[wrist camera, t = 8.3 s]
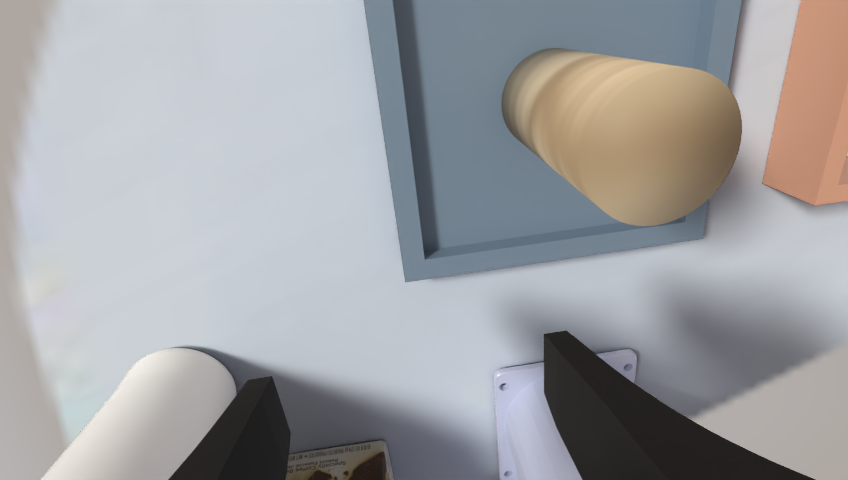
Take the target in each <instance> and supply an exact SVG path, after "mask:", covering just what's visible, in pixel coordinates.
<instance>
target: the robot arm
mask: <svg viewBox="0 0 848 480" xmlns="http://www.w3.org/2000/svg"><path fill="white" fill-rule="evenodd" d="M626 364H628V365H627V366H625V365H626ZM636 364H637V356H636V354H635V353H634V352H633V351H632V350H630V349H625V350H618V351H612V352H605V353H599V354H595V353H594V352H592V351H591V350H590V349H589V348H587V347H586V346H585V345H584V344H583V343H581V342H580V341H579V340H578V339H576V338H575V337H574V336H573V335H571V334H570V333H569V332H567V331H561V332H555V333H548V334H544V362H541V363H535V364H528V365H522V366H515V367H509V368H502V369H499V370H497V371H496V372H495V373H494V376H493V381H494V398H495V415H496V432H497V448H498V465H499V480H815V479H813V478H810V477H808V476H805V475H803V474H800V473H798V472H795V471H793V470H791V469H789V468H786V467H784V466H781V465H779V464H777V463H775V462H772V461H770V460H768V459H766V458H764V457H761V456H759V455H757V454H755V453H753V452H751V451H748V450H747V449H745V448H743V447H740V446H738V445H736V444H734V443H732V442H730V441H728V440H726V439H724V438H722V437H720V436H719V435H717V434H715V433H713V432H711V431H709V430H707V429H706V428H704V427H702V426H700V425H698V424H697V423H695V422H693V421H692V420H690V419H688V418H686V417H685V416H683V415H681V414H680V413H678V412H676V411H675V410H673V409H671V408H670V407H668V406H667V405H665V404H663V403H662V402H660V401H659V400H657V399H656V398H654V397H653V396H651V395H650V394H648V393H647V392H645V391H644V390H642V389H641V388H640V387H638V386H637V385H635V384H634V382H635V373H636ZM503 383H506V384H505V385H503V386H500V385H501V384H503ZM290 434H291V433H290V430H289V427H288V424H287V421H286V418H285V415H284V411H283V408H282V405H281V402H280V399H279V396H278V393H277V390H276V387H275V384H274V381H273V378H272V376H271V377H264V378H258V379H251V380H248V381H247V383H246V384H245V385H244V386H243V388H242V389H241V390H240V391H239V393H238V394H237V395H236V396H235V398H234V399H233V400H232V402H231V403H230V404H229V406H228V407H227V408H226V410H225V411H224V412H223V414H222V415H221V416H220V417H219V419H218V420H217V421H216V423H215V424H214V425H213V426H212V428H211V429H210V430H209V431H208V433H207V434H206V435H205V436H204V438H203V439H202V440H201V442H200V443H199V444H198V445H197V447H196V448H195V449H194V450H193V451H192V453H191V454H190V455H189V456H188V457H187V458H186V460H185V461H184V462H183V463H182V464H181V465H180V467H179V468H178V469H177V470H176V471H175V472H174V473H173V475H172V476H171V477H170V478H169V479H168V480H286V475H287V467H288V458H289V446H290Z"/></svg>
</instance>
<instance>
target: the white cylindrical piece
mask: <svg viewBox="0 0 848 480" xmlns="http://www.w3.org/2000/svg"><path fill="white" fill-rule="evenodd" d="M236 395H237V392H236V385H235V382H234V379H233V377H232V375H231V374H230V372H229V371H228V370H227V368H226V367H225V366H224V365H223V364H222V363H220V362H219V361H218V360H216V359H215V358H213V357H212V356H210V355H208V354H205V353H203V352H200V351H197V350H193V349H187V348H168V349H163V350H159V351H155V352H153V353H150V354H148V355H146V356H144V357H143V358H141V359H140V360H139V361H137V362H136V363H135V364H134V365H133V366H132V367H131V368H130V370H129V371H128V372H127V374H126V375H125V377H124V378H123V379H122V381H121V382H120V384H119V385H118V387H117V388H116V390H115V391H114V392H113V394H112V395H111V396H110V397H109V398H108V400H107V401H106V402H105V403H104V404H103V406H102V407H101V408H100V409H99V410H98V412H97V413H96V414H95V415H94V416H93V418H92V419H91V420H90V421H89V422H88V424H87V425H86V426H85V427H84V428H83V429H82V431H81V432H80V433H79V434H78V435H77V437H76V438H75V439H74V440H73V441H72V443H71V444H70V445H69V446H68V447H67V448H66V450H65V451H64V452H63V453H62V454H61V456H60V457H59V458H58V459H57V460H56V461H55V463H54V464H53V465H52V466H51V468H49V470H48V471H47V472H46V473H45V474H44V476H43V477H42V478H41V479H40V480H168V479H169V478H170V477H171V476H172V475H173V473H174V472H175V471H176V470H177V469H178V468H179V467H180V465H181V464H182V463H183V462H184V461H185V460H186V458H187V457H188V456H189V455H190V454H191V453H192V451H193V450H194V449H195V448H196V447H197V445H198V444H199V443H200V442H201V440H202V439H203V438H204V436H205V435H206V434H207V433H208V431H209V430H210V429H211V428H212V426H213V425H214V424H215V423H216V421H217V420H218V419H219V417H220V416H221V415H222V414H223V412H224V411H225V410H226V408H227V407H228V406H229V404H230V403H231V402H232V400H233V399H234V398H235V396H236Z"/></svg>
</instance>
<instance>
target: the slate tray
mask: <svg viewBox="0 0 848 480" xmlns="http://www.w3.org/2000/svg"><path fill="white" fill-rule="evenodd" d="M741 2H742V0H364V6H365V13H366V19H367V26H368V33H369V40H370V46H371V53H372V60H373V67H374V74H375V80H376V87H377V94H378V101H379V107H380V114H381V121H382V128H383V134H384V141H385V148H386V155H387V161H388V168H389V175H390V182H391V189H392V195H393V202H394V209H395V216H396V222H397V229H398V236H399V243H400V249H401V256H402V263H403V270H404V277H405V282H411V281H418V280H425V279H432V278H438V277H445V276H452V275H459V274H466V273H473V272H479V271H486V270H493V269H500V268H507V267H514V266H520V265H527V264H534V263H541V262H548V261H555V260H561V259H568V258H575V257H582V256H589V255H596V254H602V253H609V252H616V251H623V250H630V249H636V248H643V247H650V246H657V245H664V244H671V243H677V242H684V241H691V240H698V239H703V235H704V229H705V223H706V217H707V210H708V204H709V199H708V200H706V201H705V202H704V203H703V204H702V205H700V206H699V207H698V208H696V209H695V210H694V211H692V212H690V213H688V214H687V215H685V216H683V217H681V218H679V219H676V220H674V221H671V222H668V223H665V224H660V225H654V226H636V225H630V224H626V223H623V222H620V221H618V220H616V219H614V218H612V217H611V216H609V215H608V214H607V213H605V212H604V211H603V210H602V209H600V208H599V207H598V206H597V205H596V204H594V203H593V202H592V201H591V200H590V199H588V198H587V197H586V196H585V195H584V194H582V193H581V192H580V191H579V190H578V189H576V188H575V187H574V186H573V185H572V184H570V183H569V182H568V181H567V180H566V179H564V178H563V177H562V176H561V175H560V174H558V173H557V172H556V171H555V170H554V169H552V168H551V167H550V166H549V165H548V164H546V163H545V162H544V161H543V160H541V159H540V158H539V157H538V156H537V155H535V154H534V153H533V152H532V151H531V150H529V149H528V148H527V147H526V146H525V145H523V144H522V143H521V142H520V141H519V140H517V139H516V138H515V137H514V136H513V135H512V134H511V132H510V131H509V130H508V128H507V126H506V124H505V121H504V119H503V115H502V107H501V104H502V94H503V90H504V86H505V84H506V81H507V79H508V78H509V76H510V74H511V73H512V71H513V70H514V68H515V67H516V66H517V65H518V64H519V63H520V62H521V61H522V60H523V59H525V58H526V57H528V56H529V55H531V54H533V53H535V52H537V51H540V50H543V49H548V48H563V49H570V50H576V51H583V52H589V53H596V54H602V55H609V56H615V57H622V58H628V59H635V60H641V61H648V62H655V63H661V64H668V65H674V66H681V67H687V68H694V69H698V70H702V71H705V72H707V73H710V74H712V75H714V76H715V77H717V78H718V79H720V80H721V81H722V82H723V83H724V84H725V85H726V86H727V87H728V82H729V76H730V70H731V63H732V57H733V51H734V45H735V39H736V33H737V27H738V21H739V15H740V8H741Z"/></svg>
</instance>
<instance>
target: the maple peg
mask: <svg viewBox="0 0 848 480" xmlns="http://www.w3.org/2000/svg"><path fill="white" fill-rule="evenodd" d="M501 107H502V115H503V119H504V121H505V124H506V126H507V128H508V130H509V131H510V132H511V134H512V135H513V136H514V137H515V138H516V139H517V140H519V141H520V142H521V143H522V144H523V145H525V146H526V147H527V148H528V149H529V150H531V151H532V152H533V153H534V154H535V155H537V156H538V157H539V158H540V159H541V160H543V161H544V162H545V163H546V164H548V165H549V166H550V167H551V168H552V169H554V170H555V171H556V172H557V173H558V174H560V175H561V176H562V177H563V178H564V179H566V180H567V181H568V182H569V183H570V184H572V185H573V186H574V187H575V188H576V189H578V190H579V191H580V192H581V193H582V194H584V195H585V196H586V197H587V198H588V199H590V200H591V201H592V202H593V203H594V204H596V205H597V206H598V207H599V208H600V209H602V210H603V211H604V212H605V213H607V214H608V215H609V216H611V217H612V218H614V219H616V220H618V221H620V222H623V223H626V224H630V225H636V226H654V225H660V224H665V223H668V222H671V221H674V220H676V219H679V218H681V217H683V216H685V215H687V214H688V213H690V212H692V211H694V210H695V209H696V208H698V207H699V206H700V205H702V204H703V203H704V202H705V201H706V200H708V199H709V198H710V197H711V196H712V195H713V194H714V193H715V191H716V190H717V189H718V188H719V187H720V185H721V184H722V183H723V182H724V180H725V178H726V177H727V175H728V174H729V172H730V170H731V168H732V166H733V164H734V162H735V159H736V156H737V154H738V151H739V146H740V142H741V134H742V120H741V114H740V110H739V107H738V103H737V101H736V99H735V97H734V95H733V93H732V92H731V91H730V89H729V88H728V87H727V86H726V85H725V84H724V83H723V82H722V81H721V80H720V79H718V78H717V77H715V76H714V75H712V74H710V73H707V72H705V71H702V70H698V69H694V68H687V67H681V66H674V65H668V64H661V63H655V62H648V61H641V60H635V59H628V58H622V57H615V56H609V55H602V54H596V53H589V52H583V51H576V50H570V49H563V48H548V49H543V50H540V51H537V52H535V53H533V54H531V55H529V56H528V57H526V58H525V59H523V60H522V61H521V62H520V63H519V64H518V65H517V66H516V67H515V68H514V70H513V71H512V73H511V74H510V76H509V78H508V79H507V81H506V84H505V86H504V90H503V94H502V104H501Z"/></svg>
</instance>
